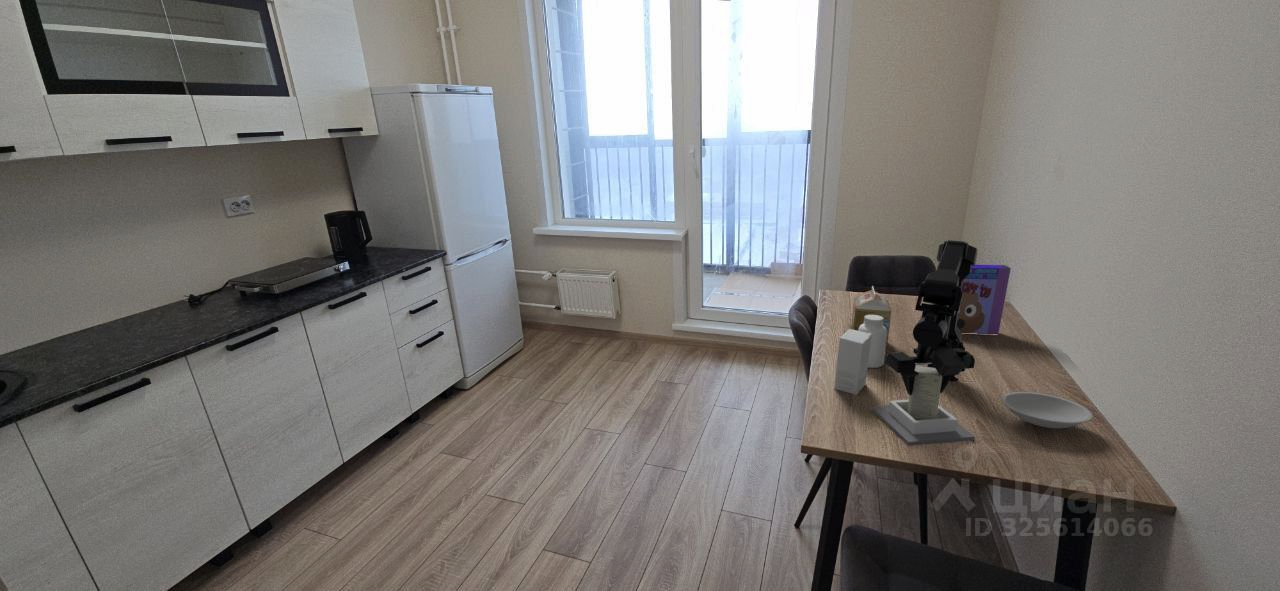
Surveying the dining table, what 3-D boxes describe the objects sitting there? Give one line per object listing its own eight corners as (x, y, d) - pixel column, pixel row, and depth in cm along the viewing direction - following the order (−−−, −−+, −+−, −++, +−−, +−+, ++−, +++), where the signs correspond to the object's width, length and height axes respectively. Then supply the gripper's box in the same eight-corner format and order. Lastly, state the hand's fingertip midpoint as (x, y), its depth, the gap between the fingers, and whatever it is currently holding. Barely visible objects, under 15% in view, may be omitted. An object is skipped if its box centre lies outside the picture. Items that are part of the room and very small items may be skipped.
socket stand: (930, 406, 135) (932, 392, 134) (974, 440, 119) (977, 425, 118) (871, 410, 133) (872, 396, 132) (908, 445, 118) (910, 430, 117)
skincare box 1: (843, 378, 151) (848, 328, 146) (867, 384, 147) (873, 333, 142) (833, 389, 145) (838, 337, 140) (857, 396, 141) (863, 342, 136)
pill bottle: (857, 356, 165) (862, 311, 161) (885, 361, 162) (890, 315, 157) (853, 365, 159) (857, 319, 155) (881, 370, 155) (887, 323, 151)
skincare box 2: (936, 415, 126) (944, 369, 122) (935, 423, 122) (943, 376, 119) (907, 408, 129) (914, 363, 126) (905, 416, 126) (912, 370, 122)
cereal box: (942, 333, 182) (953, 266, 175) (937, 329, 186) (947, 263, 179) (997, 335, 179) (1010, 267, 171) (991, 331, 183) (1003, 264, 176)
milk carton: (850, 337, 181) (855, 284, 175) (883, 340, 177) (889, 286, 172) (851, 349, 171) (856, 293, 166) (886, 352, 168) (893, 296, 162)
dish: (1008, 435, 121) (1012, 416, 120) (989, 405, 134) (993, 388, 133) (1100, 447, 116) (1106, 427, 114) (1071, 415, 129) (1076, 396, 127)
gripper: (916, 348, 111) (907, 413, 116) (998, 342, 113) (986, 407, 117) (887, 329, 121) (880, 390, 126) (963, 324, 123) (953, 384, 128)
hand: (924, 393), depth 124 cm, fingers closed on skincare box 2, 7 cm apart
